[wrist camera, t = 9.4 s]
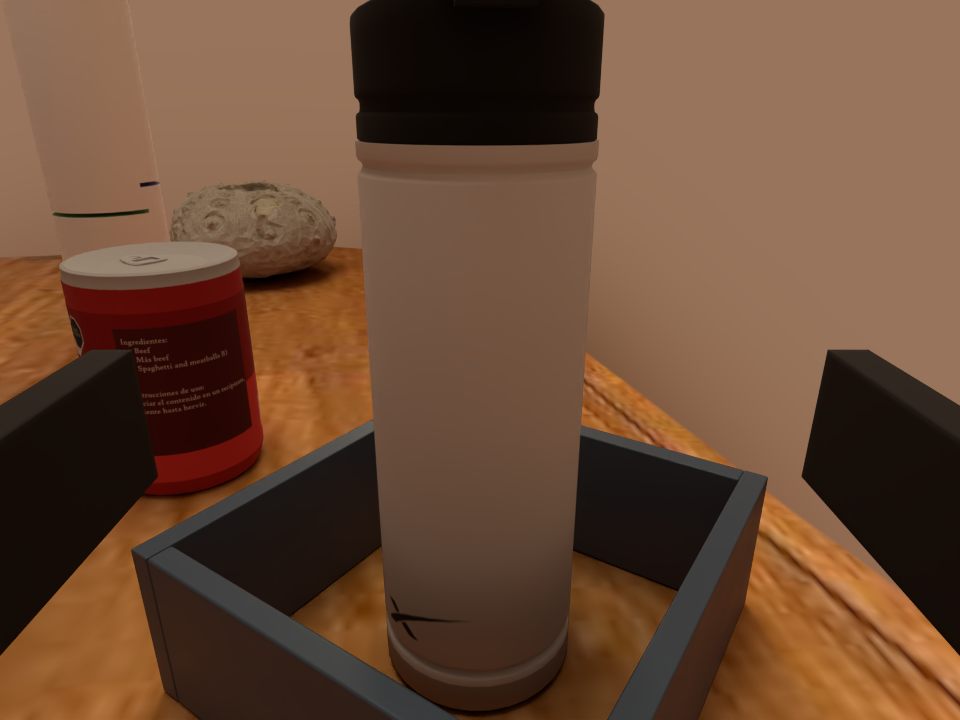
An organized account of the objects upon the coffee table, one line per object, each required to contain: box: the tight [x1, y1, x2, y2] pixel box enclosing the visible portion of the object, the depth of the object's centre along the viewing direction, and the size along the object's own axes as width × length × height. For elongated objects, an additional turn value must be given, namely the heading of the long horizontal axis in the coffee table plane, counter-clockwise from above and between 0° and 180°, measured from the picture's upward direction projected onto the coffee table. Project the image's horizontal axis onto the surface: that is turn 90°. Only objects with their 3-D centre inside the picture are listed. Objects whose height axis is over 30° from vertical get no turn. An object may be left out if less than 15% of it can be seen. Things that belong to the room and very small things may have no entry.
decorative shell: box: [169, 180, 337, 278], centre depth 73 cm, size 18×18×10 cm
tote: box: [131, 419, 768, 720], centre depth 22 cm, size 15×15×6 cm
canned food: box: [59, 242, 263, 495], centre depth 33 cm, size 8×8×11 cm
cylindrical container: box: [2, 0, 170, 261], centre depth 46 cm, size 7×7×25 cm
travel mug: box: [350, 0, 604, 711], centre depth 19 cm, size 6×7×20 cm
